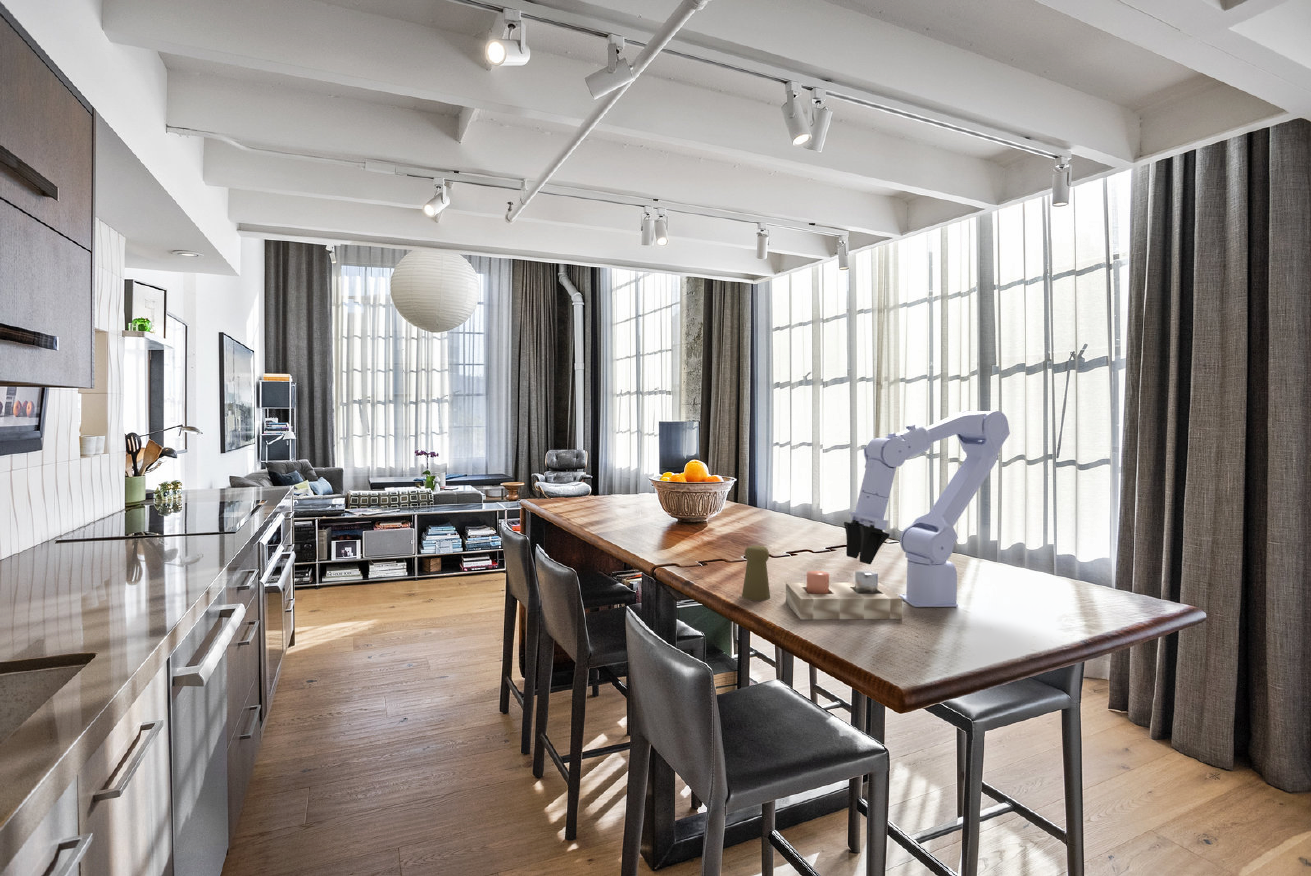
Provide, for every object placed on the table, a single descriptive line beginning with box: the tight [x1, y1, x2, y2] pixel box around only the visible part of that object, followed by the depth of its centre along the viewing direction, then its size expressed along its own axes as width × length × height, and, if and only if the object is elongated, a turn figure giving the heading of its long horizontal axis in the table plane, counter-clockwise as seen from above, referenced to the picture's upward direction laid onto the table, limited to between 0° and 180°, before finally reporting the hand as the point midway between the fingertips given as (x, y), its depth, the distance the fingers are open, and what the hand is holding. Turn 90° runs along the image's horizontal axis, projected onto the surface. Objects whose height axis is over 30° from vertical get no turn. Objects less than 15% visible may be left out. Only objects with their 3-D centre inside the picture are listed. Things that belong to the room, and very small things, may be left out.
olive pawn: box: [741, 544, 771, 601], centre depth 145 cm, size 6×6×11 cm
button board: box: [785, 582, 903, 620], centre depth 136 cm, size 20×12×4 cm, turn 93°
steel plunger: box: [854, 570, 879, 594], centre depth 137 cm, size 4×4×4 cm
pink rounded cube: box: [806, 570, 830, 594], centre depth 136 cm, size 4×4×4 cm
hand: (858, 560), depth 137 cm, fingers open, 7 cm apart
